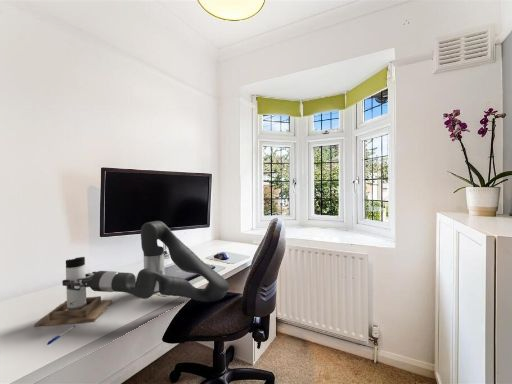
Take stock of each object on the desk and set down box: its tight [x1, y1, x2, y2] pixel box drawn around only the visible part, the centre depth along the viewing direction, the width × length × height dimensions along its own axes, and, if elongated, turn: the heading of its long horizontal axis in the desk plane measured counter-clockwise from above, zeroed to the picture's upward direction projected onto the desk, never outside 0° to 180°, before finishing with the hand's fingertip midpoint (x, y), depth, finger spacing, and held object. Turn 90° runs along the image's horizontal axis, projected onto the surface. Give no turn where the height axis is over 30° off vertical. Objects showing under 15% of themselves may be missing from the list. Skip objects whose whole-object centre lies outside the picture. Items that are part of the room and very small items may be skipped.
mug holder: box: [34, 295, 113, 327], centre depth 98 cm, size 20×16×4 cm
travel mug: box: [65, 256, 87, 310], centre depth 98 cm, size 6×7×20 cm
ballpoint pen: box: [46, 325, 76, 345], centre depth 84 cm, size 10×1×1 cm, turn 176°
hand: (71, 279), depth 99 cm, fingers closed on travel mug, 6 cm apart
